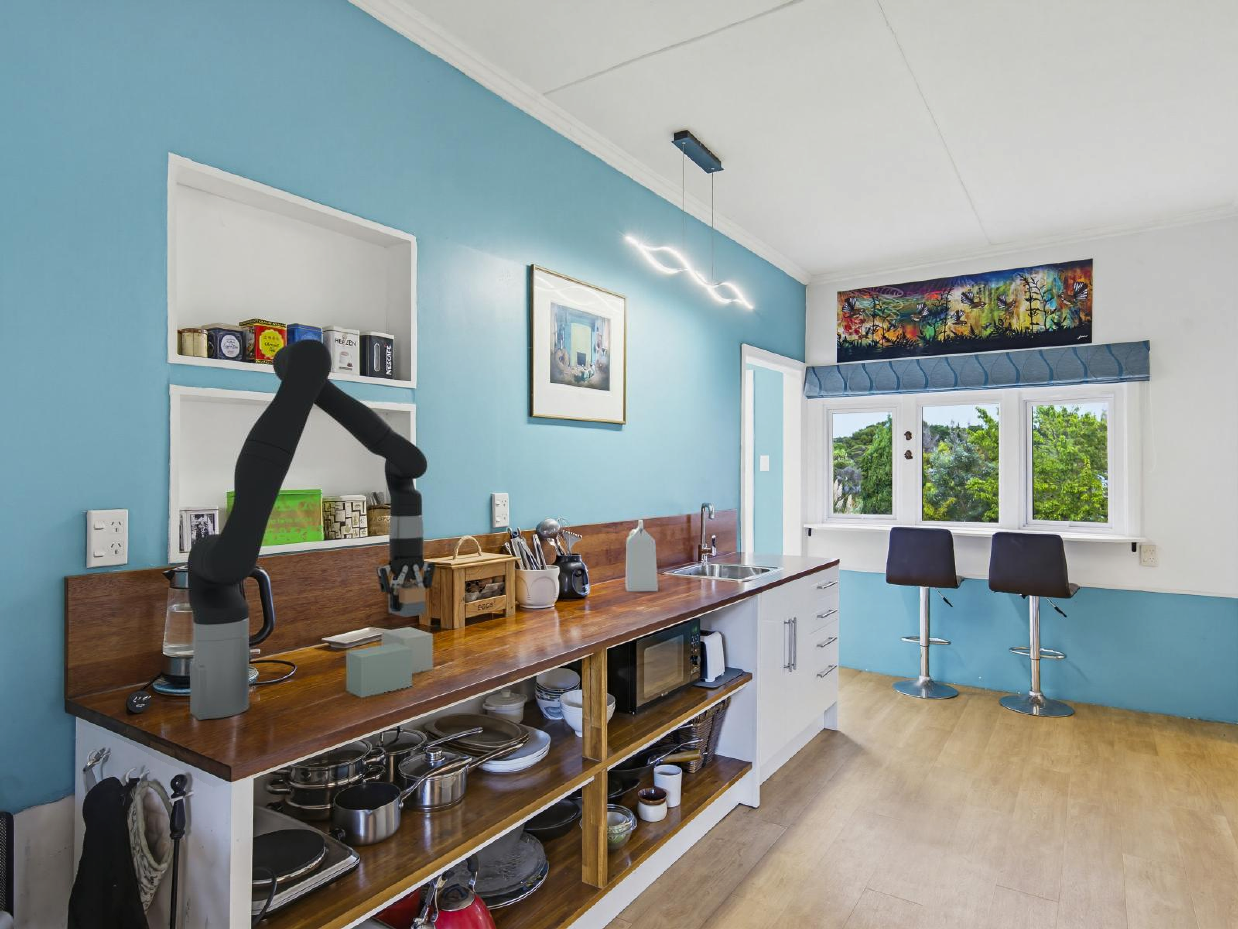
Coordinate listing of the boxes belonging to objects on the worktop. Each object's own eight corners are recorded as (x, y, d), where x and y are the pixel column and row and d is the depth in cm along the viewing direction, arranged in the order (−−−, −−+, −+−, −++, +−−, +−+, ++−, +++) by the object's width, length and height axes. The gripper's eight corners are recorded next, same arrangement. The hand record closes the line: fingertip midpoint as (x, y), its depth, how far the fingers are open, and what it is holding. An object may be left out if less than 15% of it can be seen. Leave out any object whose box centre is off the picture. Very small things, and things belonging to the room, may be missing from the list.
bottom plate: (388, 612, 171) (388, 599, 171) (408, 609, 175) (408, 596, 175) (405, 617, 165) (405, 603, 165) (425, 614, 169) (425, 600, 169)
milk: (657, 591, 277) (657, 521, 277) (627, 591, 276) (626, 521, 277) (654, 586, 289) (654, 519, 289) (625, 586, 288) (624, 519, 289)
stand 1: (361, 697, 147) (361, 657, 147) (346, 690, 152) (346, 651, 153) (412, 686, 155) (411, 648, 155) (396, 679, 160) (396, 642, 160)
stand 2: (404, 675, 164) (404, 639, 164) (381, 666, 172) (381, 631, 172) (432, 669, 168) (432, 634, 168) (409, 660, 176) (409, 627, 176)
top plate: (388, 599, 171) (388, 582, 171) (408, 596, 175) (408, 579, 175) (405, 603, 165) (405, 585, 166) (425, 600, 169) (425, 583, 169)
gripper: (426, 532, 178) (426, 603, 178) (369, 536, 168) (369, 611, 168) (442, 534, 172) (442, 607, 172) (384, 538, 163) (384, 616, 162)
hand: (406, 609), depth 170 cm, fingers closed on bottom plate, top plate, 5 cm apart
